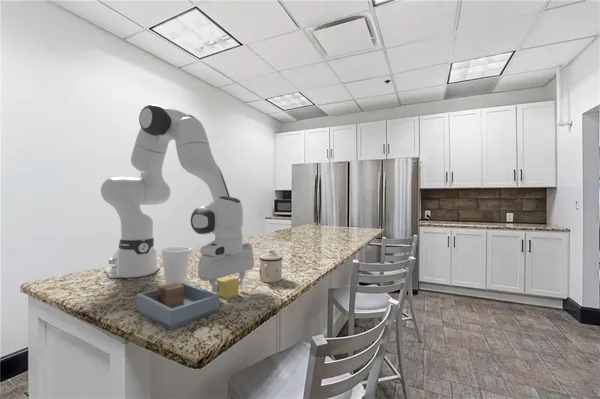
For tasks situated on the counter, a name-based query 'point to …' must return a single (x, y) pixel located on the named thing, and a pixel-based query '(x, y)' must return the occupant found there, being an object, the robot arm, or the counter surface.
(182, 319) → the tray
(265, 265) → the teacup with lid
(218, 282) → the mustard block
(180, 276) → the foam cup
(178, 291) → the walnut block
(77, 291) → the counter surface
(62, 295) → the counter surface
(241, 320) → the counter surface
